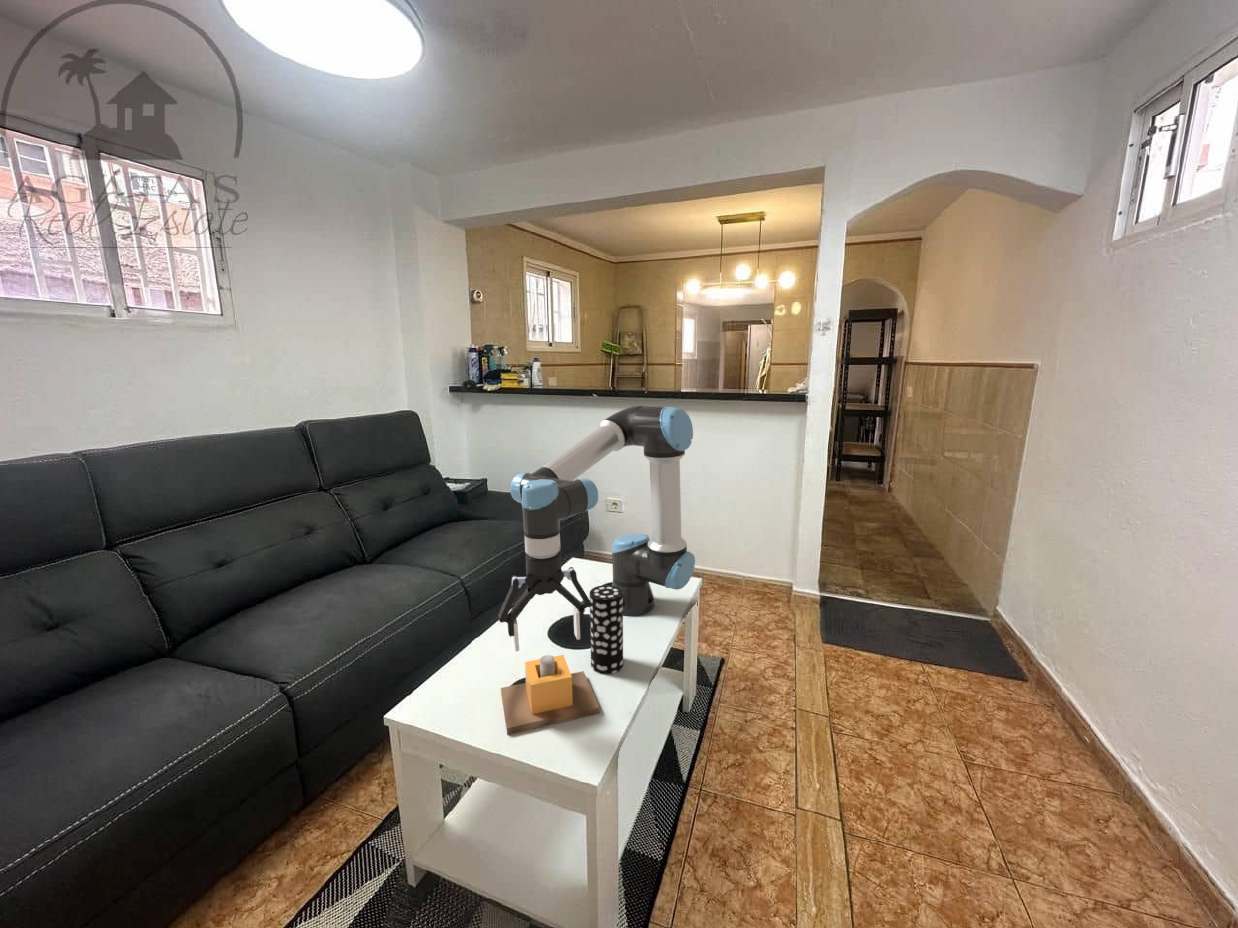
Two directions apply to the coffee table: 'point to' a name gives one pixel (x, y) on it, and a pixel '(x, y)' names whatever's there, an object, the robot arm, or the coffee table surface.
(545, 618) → the coffee table surface
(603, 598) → the white-spotted black cylinder
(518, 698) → the post board
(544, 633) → the coffee table surface
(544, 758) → the coffee table surface
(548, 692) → the collar
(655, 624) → the coffee table surface
